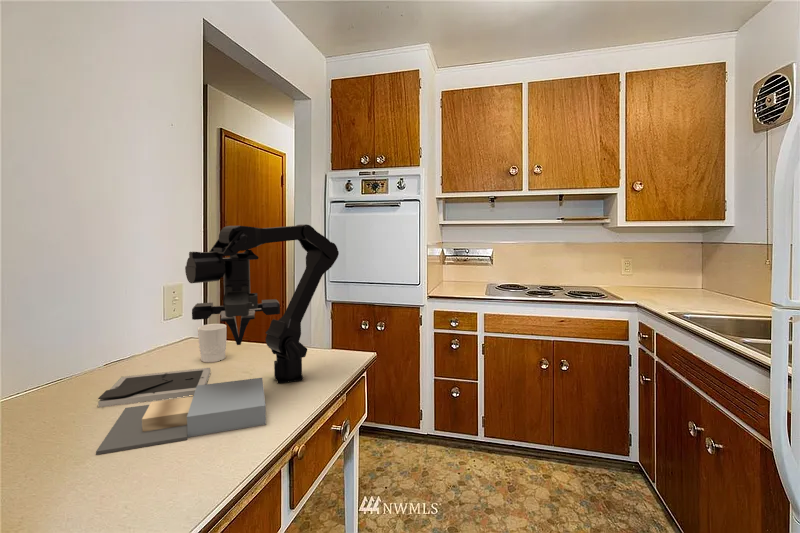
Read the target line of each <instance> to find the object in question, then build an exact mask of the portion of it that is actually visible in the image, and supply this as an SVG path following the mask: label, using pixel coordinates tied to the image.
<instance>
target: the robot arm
mask: <svg viewBox="0 0 800 533" xmlns="http://www.w3.org/2000/svg"><path fill="white" fill-rule="evenodd" d="M289 241H290V242H291V241H298V243H299V244H300V246H301V248H302V249H303V250H304V251H305V252H306V255H305V268H304V272H303V274H302V276H301V278H300V279H299V282H298V284H297V285H296V286H297V287H296V288H295V290H294V293H293V295H292V297H291V299H290V301H289V303H288V305H287V308H286V310H285V312H284V314H283V315H282V316H281V317H280V318H279V319H278V320H277V319H275V318H273V319H272V320H271V322H270V324H269V327H268V329H267V330H266V331H265V334H266V335H265V344H266V346H267V347H268V348H269V349H270V350H271V352H272V354H273V355H276V357H275V358H276V360H274V361H273V363H274V364H273V370H274V371H273V374H274V380H276V383H277V384H285V383H286V384H287V383H293V382H300V381H303V380H304V377H303V358H305V357H306V356H307V352H308V348H307V347H306V346H305V345H303V344H302V343H301V342H300V339H301V336H302V321H303V319H304V317H305V314H306V312H307V310H308V308H309V305H310V303H311V301H312V299H313V296H314V295H315V292H316V290H317V288H318V286H319V283H320V282H321V279H322V277H323V276H324V274H325V273H326V272H327V271H329V269H331V268H333V266H334V264H335V263H336V260H337V259H338V258H339V250H338V246H337V244H335V243H334V242H333V241H330V239H328V238H327V237H326V236H324V235H323V234H321V233H319V232H318V231H317V230H316V229H315V228H314V227H313V226H311V225H310V224H297V225H291V226H290V225H289V226H275V227H274V226H273V227H254V226H248V225H246V226H245V225H226V226H224V227H222V229H221V230H220V232H219V233H218V239H217V241H215V243H214V244H213V246H212V247H211V248H210V250H209V251H208V252H207V251H205V252H204V251H203V252H201V251H189V253H188V258H187V261H186V263H185V264H186V265H185V269H184V270H185V276H186V279H187V281H188V283H189V284H201V283H210V282H219V281H220V280H221V278H223V297H222V298H223V300H222V301H223V305H214V302H201V303H200V302H199V303H198V302H197V303H196V304H195V305H194V306H193V307H192V309H191V320H193V321H195V320H197V321H198V320H208V319H209V318H210V317H212V315H220V316H221V317H220V322H225V323H226V325H227V326H228V327H229V329H230V331H231V334H232V336H233V338H234V341H235V344H236V346H241V345H242V342H243V338H244V335H245V332H246V329H247V326H248V324H249V322H251V320H255V318H256V317H255V314H256V312H257V313H258V312H262V313H264V314H265V315H266V316H269V315H270V316H271V315H273V316H274V315H279V314H281V305H280V302H279V300H277V299H276V298H275V299H261V303H258V302H259V301H258V293H257V292H251V271H250V270H251V267H250V266H251V264H250V263H251V262H250V260H251V261H252V260H253V261H254V260H259V258H260V257H259V256H258V255H257V254H256V253H254V251H253V249H254V248H257V247H259V246H261V245H265V244H270V243H280V242H289ZM241 251H242V252H241ZM236 317H240V323H239V328H238V325H237V318H236ZM238 330H239V331H238Z"/></svg>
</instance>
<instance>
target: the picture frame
mask: <svg viewBox="0 0 800 533" xmlns="http://www.w3.org/2000/svg"><path fill="white" fill-rule="evenodd" d="M210 372H211V367H202V368H193V369H184V370H174V371H173V370H172V371H165V372H164V371H163V372H154V373H145V374H142V373H141V374H135V375H125V376H120V378H119V379H118V380H117V381H116V382H115V383H114V384H113V385H112V386H111V387H110V388H109V389H107V390H105V391H104V392H103V393H102V394H101V395H100V396H99V397H97V400H98V402H97V405H98V408H106V407H114V406H122V405H130V403H132V404H138V402H140V403H146V402H145V401H148V402H154V401H153V400H156V401H163V400H162V399H164V400H170V399H169V398H173V399H178V398H177V397H181V398H184V397H183V396H189V395H194V393H195V390H196V387H197V385H205V384H208V382H209V379H210V376H209V375H211V373H212V372H211V373H210ZM208 378H209V379H208ZM207 381H208V382H207ZM189 397H190V396H189Z"/></svg>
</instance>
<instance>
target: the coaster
mask: <svg viewBox="0 0 800 533" xmlns="http://www.w3.org/2000/svg"><path fill="white" fill-rule="evenodd" d="M192 399H193V396H189V397H181V398H173V399H164V400H156V401H150V404H148V405H149V407H148V409H147V411H146V413H145V414H144V416H143V418H142V431H143V432H144V431H151V430H157V429H164V428H170V427H177V426H183V425H187V415H188V412H189V409H190V406H191V402H192Z"/></svg>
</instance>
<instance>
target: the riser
mask: <svg viewBox="0 0 800 533" xmlns="http://www.w3.org/2000/svg"><path fill="white" fill-rule="evenodd" d="M192 397H193V399H192V402H191V406H190V409H189V412H188V415H187V431H188V438H191V437H196V436H197V437H199V436H203V435H209V434H217V433H220V432H222V433H223V432H228V431H233V430H240V429H246V428H252V427H259V426H263V425H264V426H265V425H267V422H266V420H267V419H266V418H267V417H266V414H267V412H266V399H265V389H264V380H263V377H257V378H248V379H247V378H246V379H240V380H232V381H224V382H215V383H207V384H205V385H197V387H196V390H195V393H194V396H192Z"/></svg>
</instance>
